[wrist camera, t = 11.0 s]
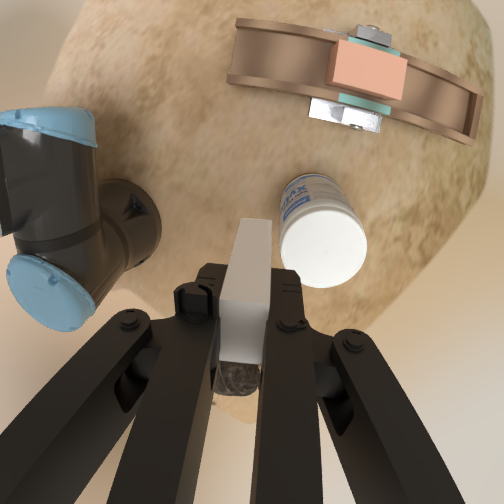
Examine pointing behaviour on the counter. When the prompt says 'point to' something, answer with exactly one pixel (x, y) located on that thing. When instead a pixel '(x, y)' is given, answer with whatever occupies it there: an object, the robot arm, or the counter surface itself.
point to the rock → (236, 378)
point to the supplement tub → (320, 232)
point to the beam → (313, 85)
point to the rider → (366, 70)
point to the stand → (346, 113)
